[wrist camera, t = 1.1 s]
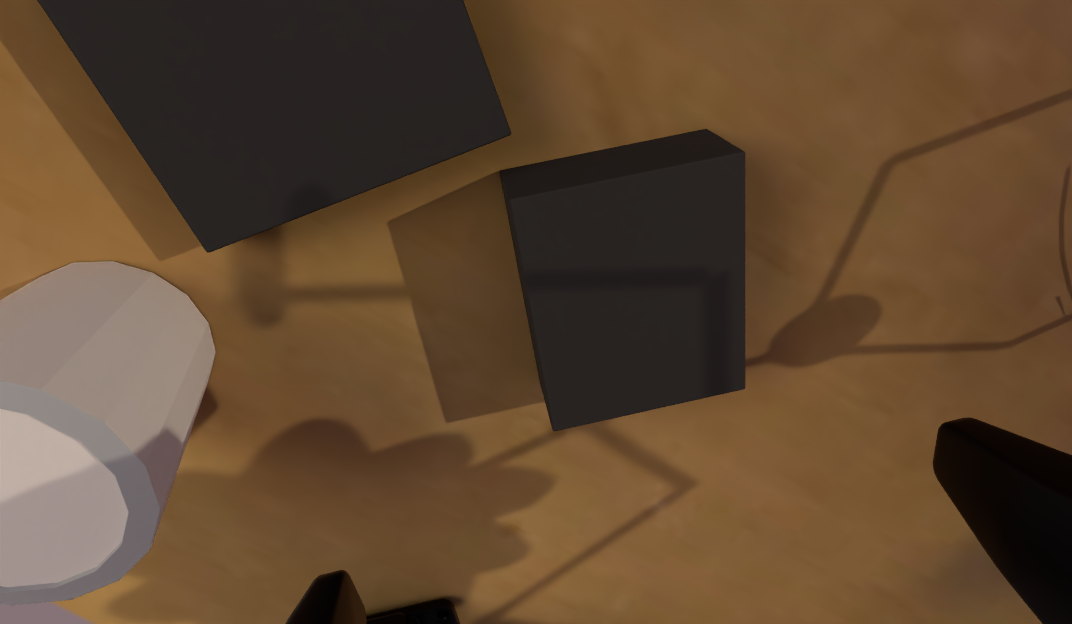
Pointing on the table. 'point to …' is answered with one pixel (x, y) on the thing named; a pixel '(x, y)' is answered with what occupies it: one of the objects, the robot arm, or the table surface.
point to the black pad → (633, 274)
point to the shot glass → (91, 423)
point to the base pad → (283, 97)
